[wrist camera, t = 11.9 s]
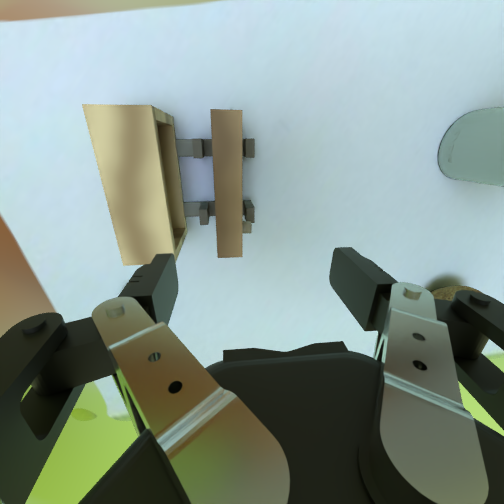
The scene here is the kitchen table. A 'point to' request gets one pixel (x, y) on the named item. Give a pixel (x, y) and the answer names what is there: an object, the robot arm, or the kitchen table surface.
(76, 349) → the robot arm
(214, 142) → the door
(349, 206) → the kitchen table surface
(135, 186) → the cabinet
